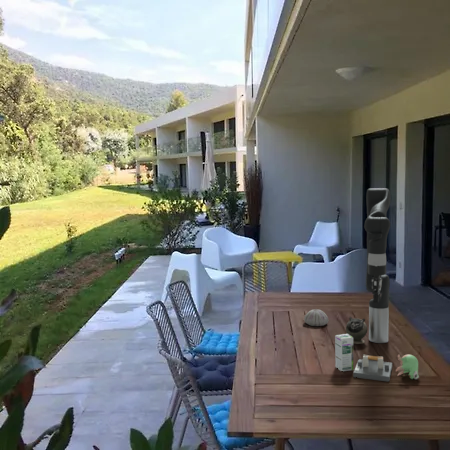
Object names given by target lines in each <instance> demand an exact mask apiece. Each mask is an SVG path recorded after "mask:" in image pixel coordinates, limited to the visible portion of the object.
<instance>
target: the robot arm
mask: <svg viewBox="0 0 450 450" xmlns="http://www.w3.org/2000/svg"><path fill="white" fill-rule="evenodd" d="M365 198H366V199H365V200H366V214H367V215H366V216H367V218H366V219H365V221H364V226H363V227H364V229H365V231H366V258H367V259H366V274H365V275H366V277H365V287H366V291H367V292H368V293H372V296H373V298H371V299H370V300H369V301H368V340H369V341H370V342H372V343H376V344H385V343H388V342H389V313H390V312H389V309H390V307H389V303H390V283H391V282H390V276H389V275H387V253H386V251H387V246H388V245H387V244H388V243H387V241H388V240H387V239H388V234H389V232H390V229H391V221H390V219H389V218H388V217H387V214H388V213H387V212H388V210H389V208H390V206H391V205H390V204H391V191H390V190H389V188H385V187H384V188H383V187H379V188H375V187H374V188H371V187H370V188H368V189H366V195H365Z"/></svg>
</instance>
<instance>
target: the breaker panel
mask: <svg viewBox="0 0 450 450" xmlns="http://www.w3.org/2000/svg"><path fill="white" fill-rule="evenodd" d="M392 369H393V362H389V361H388V362H387V361H383V369H380V368H378V360H371V359H368V367H363V358H359V359H358V360H357V363H356V365H355V368H354V369H353V372H352V373H353V374H352V376H353V378H356V377H357V378H359V379H364V380H365V379H366V380H374V381H380V382H381V381H382V382H390V379H391V375H392V374H391V373H392Z"/></svg>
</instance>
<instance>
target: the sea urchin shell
mask: <svg viewBox="0 0 450 450" xmlns="http://www.w3.org/2000/svg"><path fill="white" fill-rule="evenodd" d="M303 321H304V323H305V324H307V325H309V326H312V327H323V326H325V325H327V324H328V323H329V317H328V316H327V314H326V313H325V312H324V311H323V310H321V309H318V308H315V309H311V310H309V311H308V312H307V313H305V315H304V317H303Z"/></svg>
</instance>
